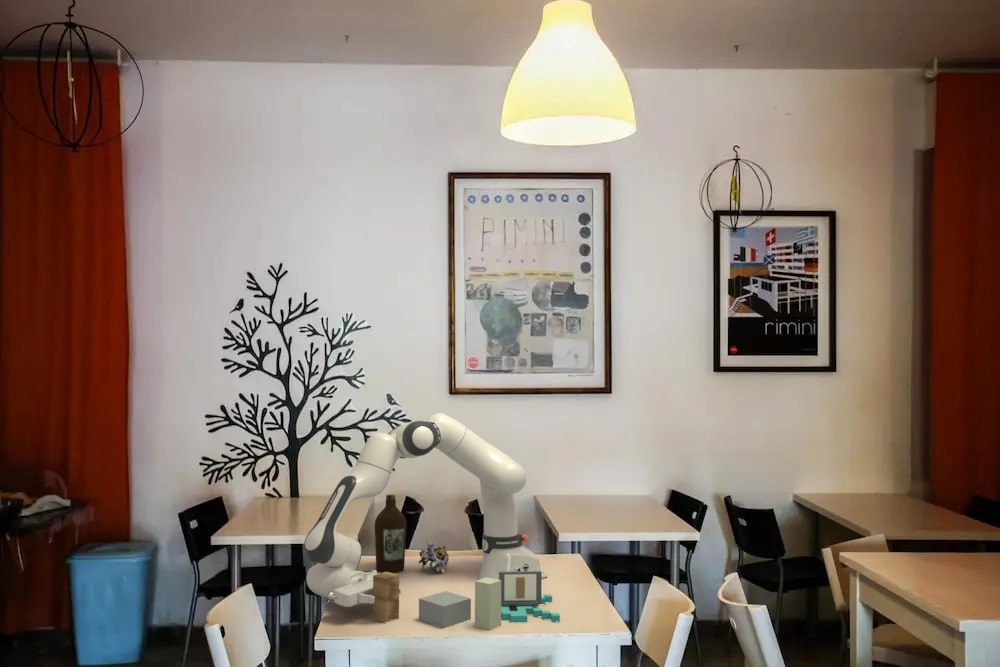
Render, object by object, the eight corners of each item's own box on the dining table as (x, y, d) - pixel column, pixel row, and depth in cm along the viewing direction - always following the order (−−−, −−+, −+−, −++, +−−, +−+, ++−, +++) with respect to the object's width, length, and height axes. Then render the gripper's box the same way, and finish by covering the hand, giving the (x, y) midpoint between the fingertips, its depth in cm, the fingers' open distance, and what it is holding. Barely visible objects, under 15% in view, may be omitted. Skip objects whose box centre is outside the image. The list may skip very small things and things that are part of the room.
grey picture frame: (539, 599, 239) (539, 568, 239) (541, 605, 234) (541, 572, 234) (498, 600, 238) (498, 568, 238) (499, 605, 233) (499, 573, 233)
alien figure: (551, 601, 245) (483, 602, 244) (551, 594, 245) (483, 595, 244) (559, 623, 225) (486, 624, 224) (559, 615, 225) (486, 616, 224)
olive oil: (370, 567, 281) (371, 493, 282) (400, 564, 286) (401, 491, 286) (379, 575, 272) (379, 498, 272) (410, 572, 276) (410, 496, 277)
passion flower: (441, 589, 275) (438, 565, 268) (412, 580, 279) (408, 556, 272) (456, 564, 284) (453, 540, 277) (427, 555, 287) (424, 531, 280)
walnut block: (385, 615, 230) (386, 571, 231) (398, 618, 228) (399, 574, 228) (372, 619, 226) (373, 575, 227) (386, 623, 223) (386, 578, 224)
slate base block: (445, 612, 234) (445, 591, 234) (470, 620, 227) (470, 598, 227) (418, 620, 226) (419, 598, 227) (443, 629, 220) (444, 606, 220)
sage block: (486, 621, 225) (486, 577, 226) (501, 625, 222) (501, 580, 223) (474, 626, 221) (475, 581, 222) (489, 630, 218) (490, 584, 219)
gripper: (324, 584, 227) (359, 592, 219) (377, 568, 243) (412, 576, 235) (323, 607, 227) (359, 616, 218) (377, 590, 243) (412, 598, 235)
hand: (387, 595), depth 227 cm, fingers open, 8 cm apart
